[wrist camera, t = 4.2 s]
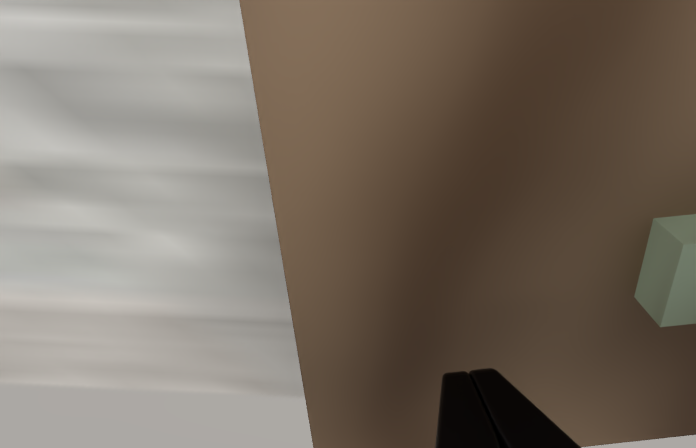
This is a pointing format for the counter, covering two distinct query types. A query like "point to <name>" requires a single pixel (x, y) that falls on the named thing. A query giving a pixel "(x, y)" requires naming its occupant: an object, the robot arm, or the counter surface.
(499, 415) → the robot arm
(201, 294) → the counter surface
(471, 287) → the instrument deck
